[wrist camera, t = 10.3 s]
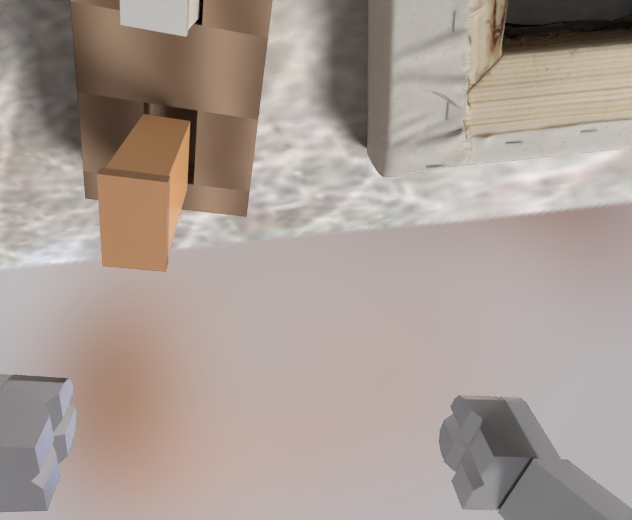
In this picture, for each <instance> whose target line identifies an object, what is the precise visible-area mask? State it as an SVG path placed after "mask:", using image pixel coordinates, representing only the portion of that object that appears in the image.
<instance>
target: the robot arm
mask: <svg viewBox="0 0 632 520" xmlns="http://www.w3.org/2000/svg"><path fill="white" fill-rule="evenodd" d="M73 392H74V390H73V384H72V380H71V379H69V378H55V377H40V376H26V375H5V374H0V512H18V511H19V512H21V511H47V509H48V507H49V504H50V501H51V499H52V496H53V494H54V491H55V489H56V486H57V483H58V481H59V478H60V475H59V468H58V464H59V463H60V462H61V461H62V460H63V459H65V458H66V457H67V456H68V454H69V451H70V448H71V446H72V443H73V439H74V434H75V429H76V408H75V406H74V405H73V404H71V403H70V400H71V397H72V395H73ZM451 409H452V411H453V414H452V415H451V416H449V417H448V418H446V419H445V420H444V422H443V424H442V426H441V429H440V437H439V444H440V449H441V453H442V456H443V459H444V462H445V463H446V464H447V465H448V466H449V467H450V468H451V469H452V470H453V471H454V475H453V478H452V483H453V486H454V488H455V491H456V493H457V496H458V499H459V501H460V503H461V507H462V509H474V510H499V511H498V513H499V514H500V515H501V516H502V517H503V518H504V519H505V520H632V509H631V508H630V507H629V506H627V505H626V504H625V503H623V502H622V501H620V499H618V498H617V497H616V496H614V495H613V494H612V493H610V492H609V491H608V490H606V489H605V488H604V487H603V486H601V485H600V484H598V483H597V482H596V481H595V480H593V479H592V478H591V477H589V476H588V475H587V474H585V473H584V472H583V471H582V470H580V469H579V468H578V467H576V466H575V465H574V464H573V463H571V462H570V461H569V460H565V459H561V458H560V456H559V455H558V453H557V452H556V450H555V448H554V447H553V445H552V443H551V442H550V440H549V439H548V437H547V435H546V434H545V432H544V430H543V429H542V427H541V426H540V424H539V422H538V421H537V419H536V417H535V416H534V414H533V413H532V411H531V409H530V408H529V406H528V405H527V403H526V402H525V401H524V400H523V399H521V398H513V397H489V396H461V395H460V396H458V397H456V398H455V399H454V401H453V403H452V405H451Z"/></svg>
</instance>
